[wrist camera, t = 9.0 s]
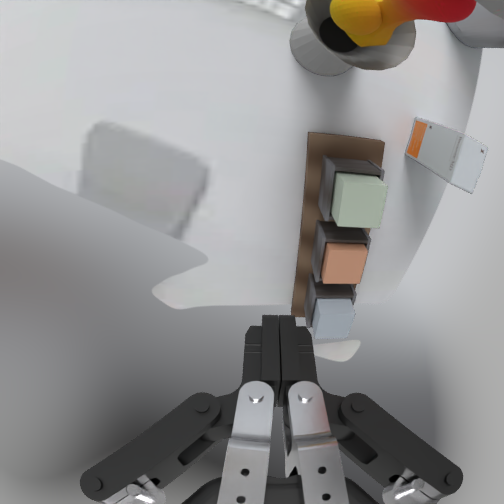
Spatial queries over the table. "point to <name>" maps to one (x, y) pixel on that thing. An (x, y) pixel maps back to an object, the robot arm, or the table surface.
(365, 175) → the sage block
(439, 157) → the skincare box
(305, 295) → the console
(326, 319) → the grey block
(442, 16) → the lava lamp
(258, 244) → the table surface
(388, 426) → the robot arm
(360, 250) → the terracotta block
